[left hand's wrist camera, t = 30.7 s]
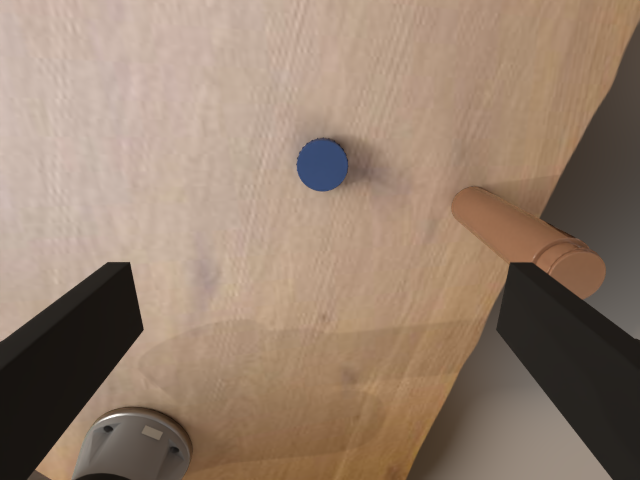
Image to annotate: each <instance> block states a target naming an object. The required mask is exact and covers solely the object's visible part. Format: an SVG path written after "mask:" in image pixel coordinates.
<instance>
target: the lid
mask: <svg viewBox="0 0 640 480" xmlns="http://www.w3.org/2000/svg"><path fill="white" fill-rule="evenodd" d="M299 154H300V155H299V157H298V158H297V159H298V161H297V164H296V165H297V171H298V174H299V177H300V179H301V180H302V182H303V183H304V184H305V185H306V186H308V187H309V188H311V189H313V190H316V191H329V190H332V189H334V188H336V187H337V186H339V185H340V184H341V183H342V181H343V180H344V178H345V176H346V174H347V170H348V159H347V157H346V156H347V155H346V153H344V150H343V148H341V147H340V145H339V144H337V143H336V142H335V141H332V140H330V139H329V138H328V139H325V138H320V139H318V138H317V139H315V140H312V141H311V142H309V143H307V144H306V145H305V146H304V147H303V148H302V150H301V151H300V153H299Z"/></svg>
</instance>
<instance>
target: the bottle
mask: <svg viewBox="0 0 640 480" xmlns="http://www.w3.org/2000/svg"><path fill="white" fill-rule="evenodd" d="M452 214H453V216H454V218H455V219H456V220H457V221H458V222H460V223H461V224H462V225H463V226H464V227H465V228H467V229H468V230H469V231H470V232H471V233H472V234H474V235H475V236H476V237H477V238H478V239H480V240H481V241H482V242H483V243H484V244H485V245H487V246H488V247H489V248H490V249H491V250H492V251H494V252H495V253H496V254H497V255H498V256H499V257H501V258H502V259H503V260H504V261H505V262H506V263H508V264H509V265H510V262H533V263H534V264H535V265H537V266H538V267H539V268H541V269H542V270H543V271H545V272H546V273H547V274H549V275H550V276H551V277H553V278H554V279H555V280H557V281H558V282H559V283H561V284H562V285H563V286H565V287H566V288H567V289H569V290H570V291H571V292H573V293H574V294H575V295H577V296H578V297H579V298H581V299H582V300H583V299H585V298H587V297H589V296H591V295H592V294H593V293H595V292H596V291H597V290H598V289H599V287H600V286H601V285H602V283H603V281H604V278H605V275H606V267H605V264H604V262H603V260H602V259H601V257H600V256H599V255H598V254H597V253H596V252H594V251H593V250H591V249H589V247H588V246H587V245H586V244H585V243H584V242H583V241H581V240H579V239H577V238H575V237H573V236H572V235H570V234H568V233H566V232H564V231H562V230H560V229H558V228H556V227H554V226H553V225H551V224H549V223H547V222H545V221H543V220H541V219H539V218H537V217H535V216H534V215H532V214H530V213H528V212H526V211H524V210H522V209H520V208H518V207H516V206H514V205H513V204H511V203H509V202H507V201H505V200H503V199H501V198H499V197H497V196H495V195H493V194H492V193H490V192H488V191H486V190H484V189H482V188H479V187H468V188H465V189H463V190H462V191H460V192H459V193H458V194H457V195H456V196H455V198H454V200H453V202H452Z"/></svg>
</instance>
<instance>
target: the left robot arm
mask: <svg viewBox="0 0 640 480" xmlns="http://www.w3.org/2000/svg"><path fill="white" fill-rule="evenodd" d="M143 330H144V329H143V324H142V319H141V314H140V309H139V304H138V299H137V294H136V290H135V285H134V280H133V275H132V270H131V265H130V262H107V263H106V264H105V265H103V266H102V267H101V268H99V269H98V270H97V271H95V272H94V273H93V274H91V275H90V276H89V277H87V278H86V279H85V280H83V281H82V282H81V283H79V284H78V285H77V286H75V287H74V288H73V289H71V290H70V291H69V292H67V293H66V294H65V295H63V296H62V297H61V298H59V299H58V300H57V301H55V302H54V303H53V304H51V305H50V306H49V307H47V308H46V309H45V310H43V311H42V312H41V313H39V314H38V315H37V316H35V317H34V318H33V319H31V320H30V321H28V322H27V323H26V324H24V325H23V326H22V327H20V328H19V329H18V330H16V331H15V332H14V333H12V334H11V335H10V336H8V337H7V338H6V339H4V340H3V341H1V342H0V480H51V479H49V478H47V477H46V476H44V475H43V474H41V473H39V472H38V471H36V470H35V469H36V468H37V466H38V465H39V464H40V462H41V461H42V460H43V459H44V457H45V456H46V455H47V453H48V452H49V451H50V450H51V448H52V447H53V446H54V445H55V443H56V442H57V441H58V439H59V438H60V437H61V436H62V434H63V433H64V432H65V430H66V429H67V428H68V427H69V425H70V424H71V423H72V421H73V420H74V419H75V418H76V416H77V415H78V414H79V412H80V411H81V410H82V409H83V407H84V406H85V405H86V403H87V402H88V401H89V400H90V398H91V397H92V396H93V394H94V393H95V392H96V391H97V389H98V388H99V387H100V385H101V384H102V383H103V382H104V380H105V379H106V378H107V376H108V375H109V374H110V373H111V371H112V370H113V369H114V367H115V366H116V365H117V364H118V362H119V361H120V360H121V358H122V357H123V356H124V355H125V353H126V352H127V351H128V349H129V348H130V347H131V346H132V344H133V343H134V342H135V340H136V339H137V338H138V337H139V335H140V334H141V333H142V331H143ZM496 330H497V331H498V333H499V334H500V335H501V337H502V338H503V339H504V340H505V342H506V343H507V344H508V345H509V347H510V348H511V349H512V351H513V352H514V353H515V354H516V356H517V357H518V358H519V360H520V361H521V362H522V364H523V365H524V366H525V367H526V369H527V370H528V371H529V373H530V374H531V375H532V376H533V378H534V379H535V380H536V382H537V383H538V384H539V385H540V387H541V388H542V389H543V390H544V392H545V393H546V394H547V396H548V397H549V398H550V400H551V401H552V402H553V403H554V405H555V406H556V407H557V408H558V410H559V411H560V412H561V414H562V415H563V416H564V417H565V419H566V420H567V421H568V423H569V424H570V425H571V427H572V428H573V429H574V430H575V432H576V433H577V434H578V436H579V437H580V438H581V439H582V441H583V442H584V443H585V444H586V446H587V447H588V448H589V450H590V451H591V452H592V453H593V455H594V456H595V457H596V459H597V460H598V461H599V462H600V464H601V465H602V466H603V468H604V469H605V470H606V471H607V473H608V474H609V475H610V477H611V478H612V479H613V480H640V340H638V339H634V338H633V337H631V336H630V335H629V334H628V333H626V332H625V331H623V330H622V329H621V328H619V327H618V326H617V325H615V324H614V323H613V322H612V321H610V320H609V319H607V318H606V317H605V316H603V315H602V314H601V313H599V312H598V311H597V310H595V309H594V308H593V307H591V306H590V305H589V304H587V303H586V302H585V301H583V300H582V299H581V298H579V297H578V296H577V295H575V294H574V293H573V292H571V291H570V290H569V289H567V288H566V287H565V286H563V285H562V284H561V283H559V282H558V281H557V280H555V279H554V278H553V277H551V276H550V275H549V274H547V273H546V272H545V271H543V270H542V269H541V268H539V267H538V266H537V265H535V264H534V263H533V262H510V265H509V270H508V275H507V280H506V285H505V290H504V294H503V299H502V304H501V309H500V314H499V319H498V324H497V329H496ZM191 457H192V444H191V441H190V439H189V437H188V435H187V433H186V432H185V430H184V429H183V428H182V427H181V426H180V425H179V424H178V423H176V422H175V421H174V420H172V419H171V418H169V417H168V416H166V415H164V414H161V413H159V412H156V411H153V410H150V409H145V408H137V407H126V408H119V409H115V410H112V411H109V412H107V413H105V414H104V415H102V416H101V417H99V418H98V419H97V420H96V421H95V423H94V424H93V425H92V427H91V428H90V430H89V431H88V433H87V434H86V436H85V439H84V441H83V443H82V446H81V450H80V453H79V456H78V459H77V463H76V466H75V469H74V473H73V476H72V479H71V480H181V479H182V478H183V476H184V474H185V473H186V471H187V469H188V466H189V463H190V461H191Z"/></svg>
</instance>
